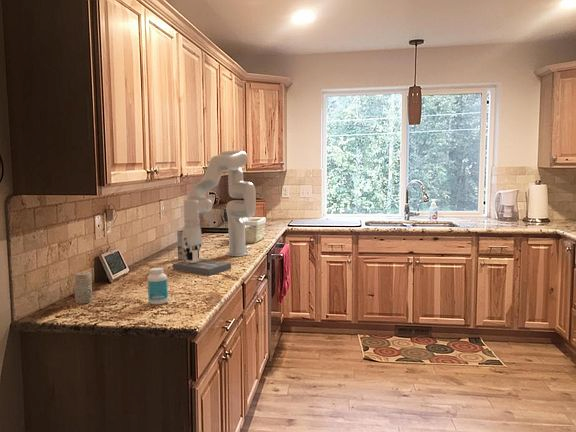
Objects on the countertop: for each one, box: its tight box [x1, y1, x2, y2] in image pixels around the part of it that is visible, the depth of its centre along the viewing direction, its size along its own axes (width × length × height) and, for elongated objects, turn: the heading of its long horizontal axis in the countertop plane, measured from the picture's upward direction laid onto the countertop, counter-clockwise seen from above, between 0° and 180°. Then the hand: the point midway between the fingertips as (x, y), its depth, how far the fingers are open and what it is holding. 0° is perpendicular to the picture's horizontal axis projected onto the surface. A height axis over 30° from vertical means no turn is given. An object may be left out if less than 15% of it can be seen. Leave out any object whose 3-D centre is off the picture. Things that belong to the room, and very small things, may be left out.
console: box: [172, 258, 232, 276], centre depth 247 cm, size 16×25×3 cm, turn 56°
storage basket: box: [242, 216, 267, 244], centre depth 331 cm, size 24×16×15 cm
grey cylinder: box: [74, 271, 93, 305], centre depth 193 cm, size 6×8×12 cm
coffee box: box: [176, 229, 197, 261], centre depth 274 cm, size 9×6×16 cm
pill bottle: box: [146, 267, 169, 306], centre depth 191 cm, size 8×7×14 cm
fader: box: [185, 250, 202, 263], centre depth 250 cm, size 6×5×6 cm
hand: (193, 258), depth 250 cm, fingers closed on fader, 4 cm apart
